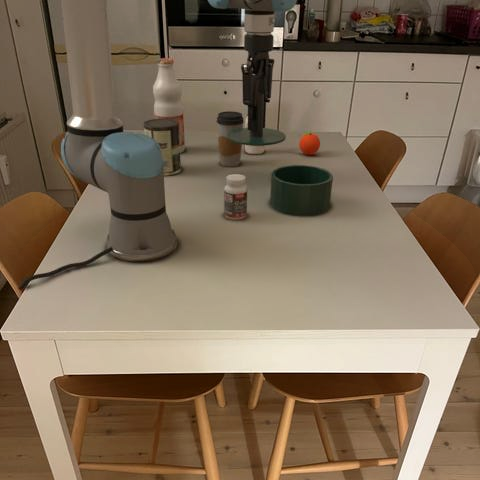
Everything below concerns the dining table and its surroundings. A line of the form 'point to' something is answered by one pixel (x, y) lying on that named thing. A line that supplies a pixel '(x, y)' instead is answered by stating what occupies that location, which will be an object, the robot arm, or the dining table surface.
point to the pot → (301, 190)
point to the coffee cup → (227, 148)
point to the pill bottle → (235, 197)
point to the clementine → (309, 143)
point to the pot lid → (261, 135)
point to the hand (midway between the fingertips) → (256, 128)
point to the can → (253, 149)
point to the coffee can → (166, 142)
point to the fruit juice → (168, 97)
